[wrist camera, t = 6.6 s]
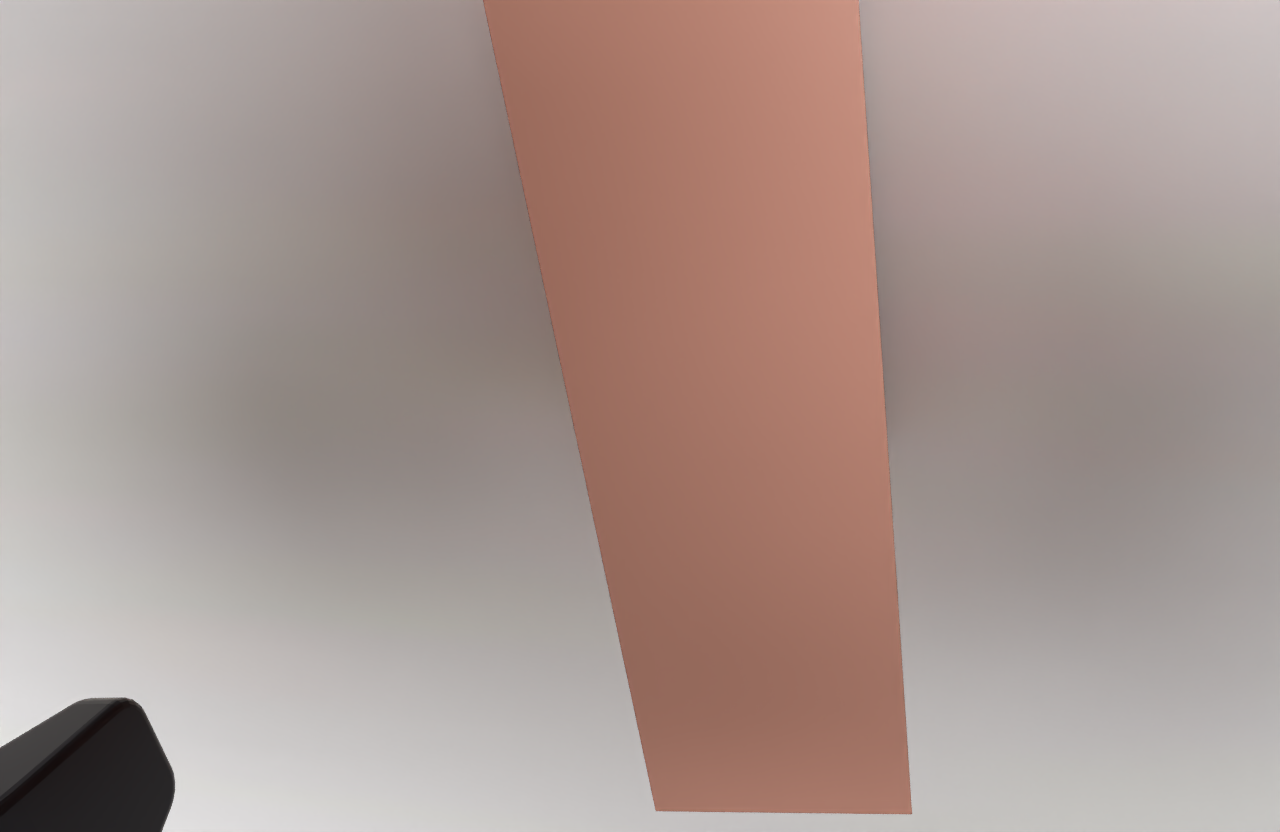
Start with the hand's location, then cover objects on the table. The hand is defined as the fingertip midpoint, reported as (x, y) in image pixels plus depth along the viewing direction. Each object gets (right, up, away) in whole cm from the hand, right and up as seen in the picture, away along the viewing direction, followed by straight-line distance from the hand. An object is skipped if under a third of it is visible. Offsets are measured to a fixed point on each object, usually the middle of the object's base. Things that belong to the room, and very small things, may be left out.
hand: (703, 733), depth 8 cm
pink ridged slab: (+1, +9, +4) cm, 10 cm away
